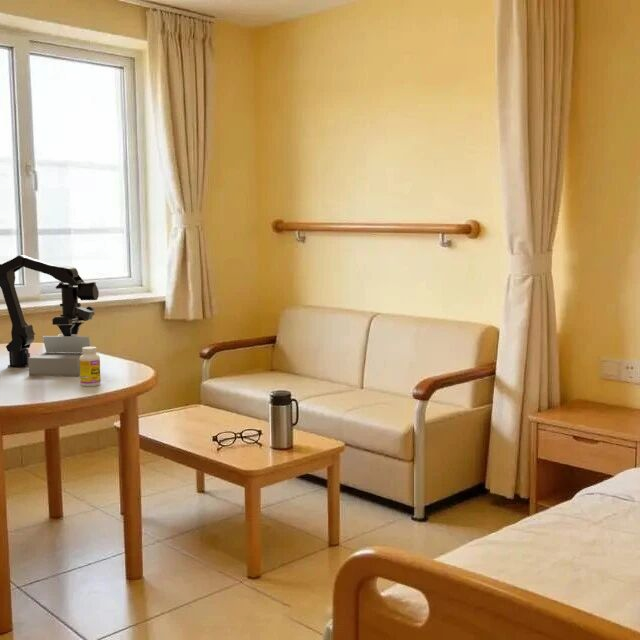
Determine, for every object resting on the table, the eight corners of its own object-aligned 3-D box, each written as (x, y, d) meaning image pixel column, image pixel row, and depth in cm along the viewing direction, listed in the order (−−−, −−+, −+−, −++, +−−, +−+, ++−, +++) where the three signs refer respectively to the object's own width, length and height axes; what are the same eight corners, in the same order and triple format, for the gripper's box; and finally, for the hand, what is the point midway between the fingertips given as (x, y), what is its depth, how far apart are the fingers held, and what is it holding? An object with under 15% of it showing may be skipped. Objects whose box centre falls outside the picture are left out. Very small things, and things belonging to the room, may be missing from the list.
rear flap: (42, 336, 289) (46, 331, 292) (46, 352, 292) (50, 347, 296) (88, 337, 288) (91, 332, 291) (91, 352, 291) (94, 347, 294)
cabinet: (29, 375, 279) (28, 357, 279) (46, 367, 293) (45, 351, 292) (77, 376, 278) (76, 358, 277) (92, 368, 291) (91, 352, 291)
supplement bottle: (91, 387, 260) (90, 349, 258) (76, 385, 262) (74, 348, 261) (104, 383, 266) (103, 346, 264) (89, 382, 268) (88, 345, 267)
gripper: (80, 301, 282) (82, 344, 283) (100, 298, 301) (101, 339, 302) (50, 302, 283) (52, 344, 285) (72, 299, 302) (74, 339, 303)
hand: (71, 341), depth 293 cm, fingers open, 4 cm apart
